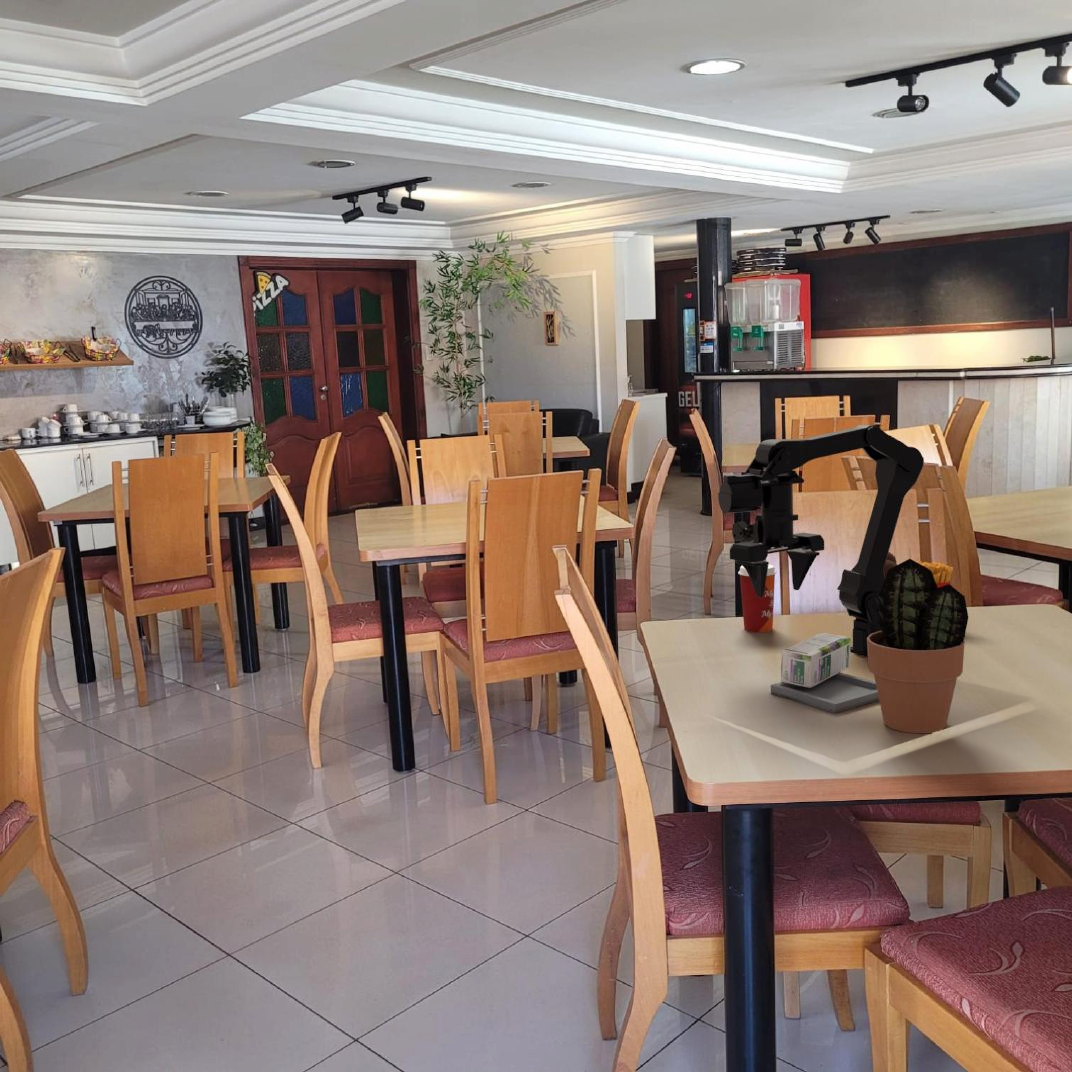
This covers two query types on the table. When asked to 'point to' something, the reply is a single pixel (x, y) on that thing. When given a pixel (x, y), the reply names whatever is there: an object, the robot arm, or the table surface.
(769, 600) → the paper cup
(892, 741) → the table surface
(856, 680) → the serving tray
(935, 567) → the french fries
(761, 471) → the robot arm
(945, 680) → the potted plant
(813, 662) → the syrup box
